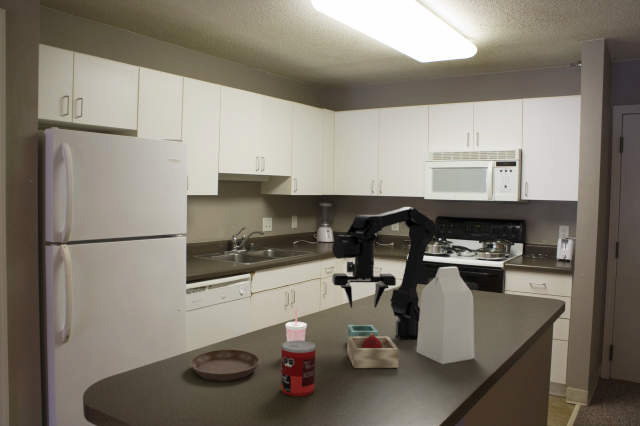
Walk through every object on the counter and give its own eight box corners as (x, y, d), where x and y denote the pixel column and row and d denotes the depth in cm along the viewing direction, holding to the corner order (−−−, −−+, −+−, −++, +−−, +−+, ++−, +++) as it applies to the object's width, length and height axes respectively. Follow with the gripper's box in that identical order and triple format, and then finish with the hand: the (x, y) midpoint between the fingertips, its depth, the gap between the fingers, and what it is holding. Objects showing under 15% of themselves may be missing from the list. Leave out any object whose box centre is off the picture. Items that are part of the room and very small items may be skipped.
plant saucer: (227, 390, 123) (227, 377, 123) (175, 374, 133) (175, 362, 132) (272, 369, 138) (273, 357, 138) (223, 356, 148) (223, 345, 147)
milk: (442, 364, 145) (445, 271, 144) (416, 351, 155) (419, 265, 154) (474, 358, 151) (478, 269, 149) (447, 347, 161) (450, 263, 160)
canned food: (280, 384, 127) (281, 340, 126) (313, 384, 128) (314, 340, 127) (280, 397, 119) (281, 350, 119) (315, 397, 120) (316, 350, 119)
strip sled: (378, 340, 165) (378, 324, 165) (398, 367, 140) (398, 349, 140) (340, 340, 164) (341, 324, 164) (354, 368, 139) (354, 349, 139)
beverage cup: (309, 353, 151) (310, 305, 151) (301, 359, 145) (302, 310, 145) (289, 350, 153) (290, 303, 153) (281, 356, 147) (282, 308, 147)
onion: (381, 365, 142) (381, 337, 142) (360, 363, 143) (360, 335, 143) (382, 359, 148) (383, 331, 148) (362, 357, 149) (363, 329, 149)
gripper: (388, 253, 167) (387, 301, 168) (330, 252, 165) (329, 301, 166) (396, 258, 156) (395, 309, 157) (335, 257, 154) (334, 309, 155)
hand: (363, 307), depth 159 cm, fingers open, 7 cm apart
